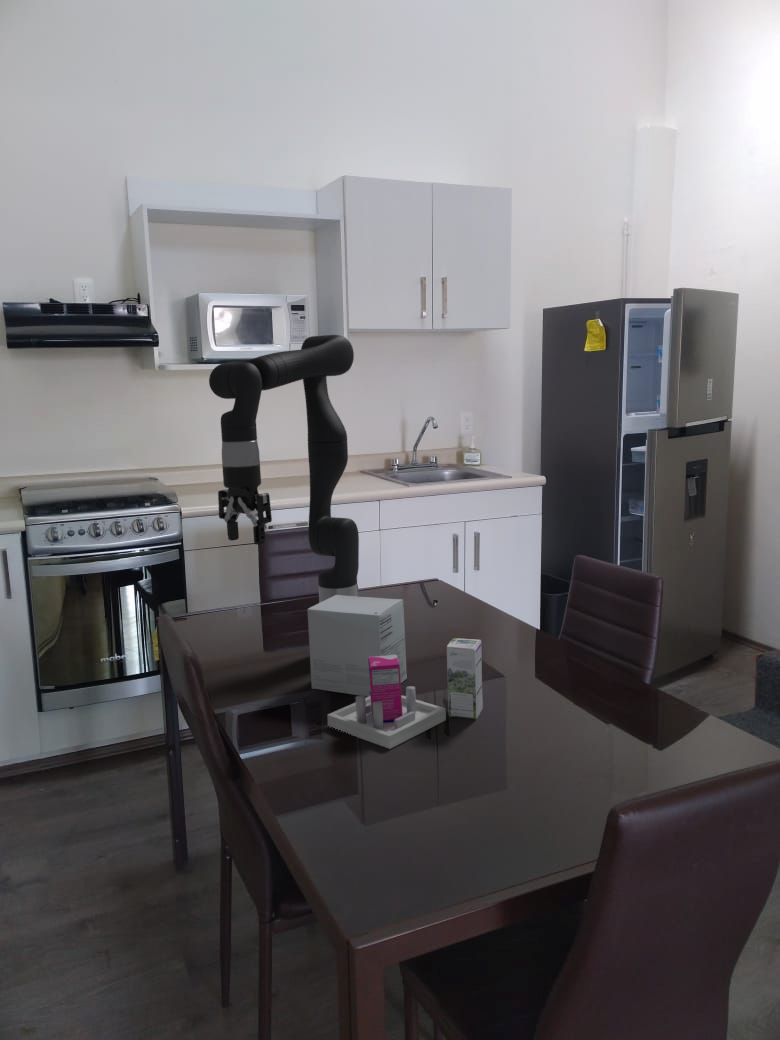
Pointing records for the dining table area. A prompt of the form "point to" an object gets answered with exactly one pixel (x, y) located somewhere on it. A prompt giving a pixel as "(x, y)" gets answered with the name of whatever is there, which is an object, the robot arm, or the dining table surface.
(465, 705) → the syrup box
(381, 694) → the supplement box
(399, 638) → the supplement box
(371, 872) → the dining table surface
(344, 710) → the tray
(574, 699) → the dining table surface
